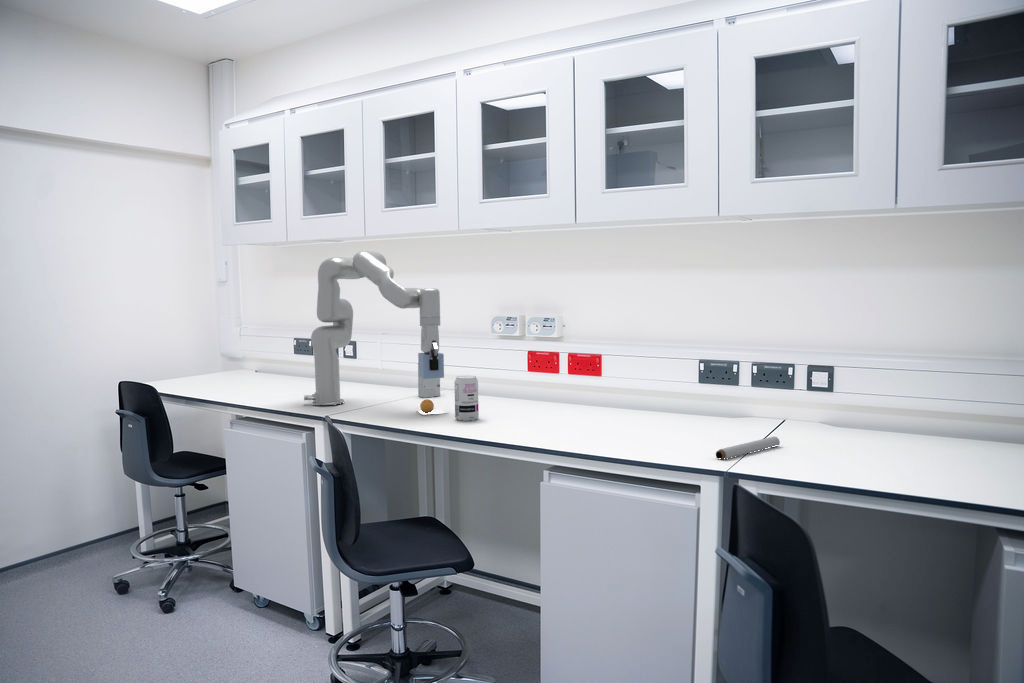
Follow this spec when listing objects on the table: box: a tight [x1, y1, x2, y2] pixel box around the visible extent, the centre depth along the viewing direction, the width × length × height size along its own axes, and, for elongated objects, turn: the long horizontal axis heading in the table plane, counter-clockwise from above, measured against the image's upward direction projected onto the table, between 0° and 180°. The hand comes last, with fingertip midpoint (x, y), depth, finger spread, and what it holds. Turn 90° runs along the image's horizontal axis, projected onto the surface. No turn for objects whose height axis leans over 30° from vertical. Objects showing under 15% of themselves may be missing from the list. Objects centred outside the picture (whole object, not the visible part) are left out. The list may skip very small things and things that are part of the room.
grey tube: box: [715, 436, 780, 460], centre depth 181 cm, size 3×3×25 cm
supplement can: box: [454, 375, 479, 422], centre depth 232 cm, size 8×8×15 cm
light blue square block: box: [417, 351, 445, 379], centre depth 246 cm, size 8×8×9 cm
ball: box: [419, 398, 435, 413], centre depth 246 cm, size 5×5×5 cm
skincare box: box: [417, 366, 441, 399], centre depth 283 cm, size 8×6×15 cm
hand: (431, 368), depth 246 cm, fingers closed on light blue square block, 7 cm apart
